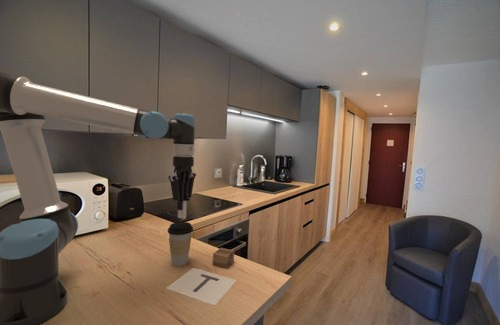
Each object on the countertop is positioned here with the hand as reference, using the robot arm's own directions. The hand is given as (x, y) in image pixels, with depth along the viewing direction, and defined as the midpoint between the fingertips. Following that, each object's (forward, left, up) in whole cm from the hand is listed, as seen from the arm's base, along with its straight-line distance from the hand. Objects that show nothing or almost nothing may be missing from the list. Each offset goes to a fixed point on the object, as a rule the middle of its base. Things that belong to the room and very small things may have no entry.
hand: (182, 217), depth 88 cm
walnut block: (+7, -15, -18) cm, 24 cm away
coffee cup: (0, +1, -18) cm, 18 cm away
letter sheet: (-8, -15, -18) cm, 25 cm away
